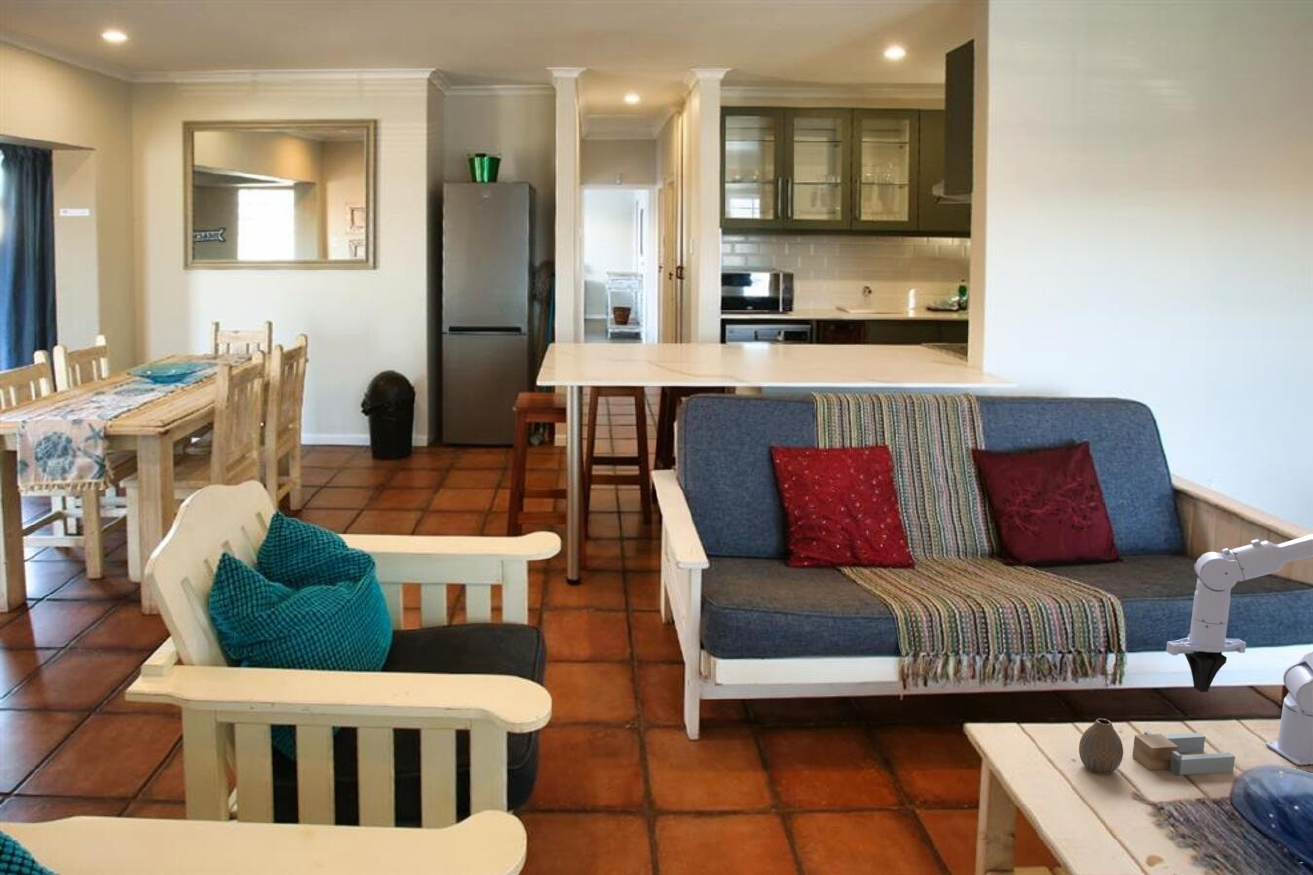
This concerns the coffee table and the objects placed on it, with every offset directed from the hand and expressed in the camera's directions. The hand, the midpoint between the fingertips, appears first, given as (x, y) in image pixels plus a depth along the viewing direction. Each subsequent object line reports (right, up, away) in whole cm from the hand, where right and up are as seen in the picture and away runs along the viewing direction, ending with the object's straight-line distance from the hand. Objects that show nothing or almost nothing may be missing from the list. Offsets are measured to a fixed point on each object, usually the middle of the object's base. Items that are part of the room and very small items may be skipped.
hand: (1200, 689), depth 186 cm
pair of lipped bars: (-6, -11, -7) cm, 14 cm away
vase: (-24, -11, -11) cm, 28 cm away
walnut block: (-13, -11, -8) cm, 19 cm away
